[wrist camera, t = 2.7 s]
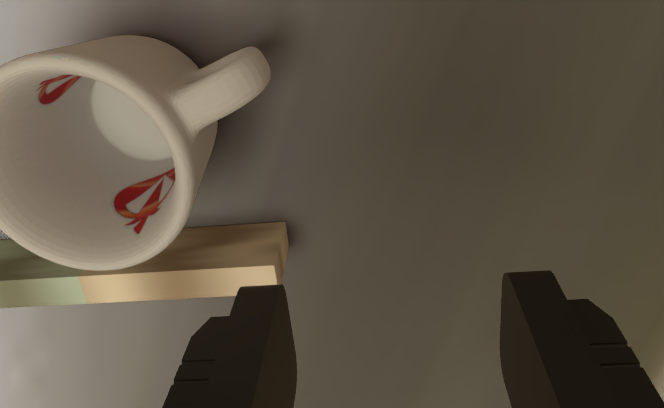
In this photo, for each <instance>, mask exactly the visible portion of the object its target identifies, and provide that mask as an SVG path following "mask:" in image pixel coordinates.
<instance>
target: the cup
mask: <svg viewBox="0 0 664 408" xmlns="http://www.w3.org/2000/svg"><path fill="white" fill-rule="evenodd" d="M270 77H271V71H270V67H269V65H268V63H267V61H266V58H265V57H264V55H263V54H262V52H261V51H260V50H259V49H257V48H256V47H246V48H243V49H240V50H238V51H236V52H234V53H232V54H229V55H227V56H225V57H223V58H221V59H219V60H217V61H215V62H213V63H212V64H210V65H208V66H206V67H203V68H201V69H199V68H198V67H197V65H196V64H195V63H194V62H193V61H192V60H191V59H190V58H189V57H187V56H186V55H185V54H184V53H182V52H181V51H179V50H178V49H176V48H175V47H173V46H171V45H169V44H167V43H165V42H162V41H160V40H157V39H154V38H150V37H145V36H136V35H120V36H112V37H107V38H102V39H97V40H93V41H88V42H84V43H79V44H75V45H70V46H65V47H61V48H56V49H52V50H47V51H42V52H38V53H33V54H29V55H25V56H22V57H19V58H16V59H14V60H11V61H9V62H7V63H5V64H3V65H1V66H0V229H1V230H2V231H3V232H4V233H5V234H6V235H8V236H9V237H10V238H11V239H13V240H14V241H15V242H16V243H18V244H19V245H21V246H22V247H24V248H26V249H28V250H29V251H31V252H33V253H34V254H36V255H38V256H40V257H42V258H45V259H47V260H50V261H52V262H54V263H57V264H60V265H64V266H68V267H72V268H76V269H82V270H93V271H108V270H117V269H123V268H127V267H131V266H134V265H137V264H140V263H142V262H145V261H147V260H149V259H151V258H153V257H154V256H156V255H157V254H159V253H160V252H162V251H163V250H164V249H165V248H166V247H168V246H169V245H170V244H171V243H172V242H173V240H174V239H175V238H176V237H177V236H178V235H179V233H180V232H181V230H182V229H183V227H184V225H185V224H186V222H187V220H188V218H189V215H190V213H191V210H192V207H193V204H194V201H195V199H196V196H197V193H198V190H199V187H200V184H201V181H202V178H203V175H204V172H205V169H206V167H207V164H208V161H209V158H210V155H211V152H212V149H213V146H214V142H215V138H216V134H217V126H218V120H219V119H221V118H223V117H225V116H227V115H229V114H231V113H232V112H234V111H236V110H237V109H239V108H241V107H243V106H244V105H246V104H247V103H248V102H250V101H251V100H253V99H254V98H255V97H256V96H258V95H259V94H260V93H261V92H262V91H263V90H264V89H265V87H266V86H267V85H268V83H269V81H270Z"/></svg>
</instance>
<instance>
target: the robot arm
mask: <svg viewBox="0 0 664 408" xmlns="http://www.w3.org/2000/svg"><path fill="white" fill-rule="evenodd" d="M500 358H501V367H502V373H503V378H504V382H505V386H506V389H507V393H508V396H509V399H510V403H511V406H512V408H664V402H663V400H662V399H661V397H660V395H659V394H658V392H657V390H656V389H655V387H654V385H653V384H652V382H651V380H650V379H649V377H648V376H647V374H646V372H645V371H644V369H643V368H640V364H639V363H640V362H639V361H638V359H637V357H636V356H635V354H634V352H633V351H632V349H631V348H630V347H628V345H627V341H626V339H625V338H624V336H623V334H622V333H621V331H620V329H619V328H618V326H617V324H616V323H615V321H614V319H613V318H612V317H610V316H609V315H608V314H606V313H605V312H604V311H602V310H601V309H600V308H599V307H597V306H596V305H595V304H593V303H592V302H591V301H589V300H588V299H577V300H567V299H566V297H565V295H564V293H563V291H562V289H561V288H560V286H559V284H558V282H557V280H556V278H555V276H554V274H553V273H552V272H551V271H550V270H549V271H530V272H512V273H505V274H504V275H503V280H502V299H501V326H500ZM296 384H297V363H296V352H295V346H294V340H293V334H292V328H291V322H290V316H289V309H288V303H287V297H286V292H285V289H284V286H283V285H282V284H280V285H262V286H243V287H240V288H239V290H238V292H237V295H236V298H235V301H234V304H233V307H232V310H231V313H230V316H222V317H210V319H209V320H208V321H207V322H206V323H205V324H204V325H203V326H202V327H201V328H200V329H199V330H198V331H197V332H196V333H195V334H194V335H193V336H192V337H191V339H190V341H189V344H188V346H187V349H186V351H185V354H184V356H183V358H182V365H180V366H179V368H178V371H177V373H176V376H175V378H174V385H171V388H170V390H169V393H168V395H167V398H166V400H165V403H164V405H163V407H162V408H293V407H294V400H295V393H296Z"/></svg>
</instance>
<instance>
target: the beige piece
mask: <svg viewBox="0 0 664 408" xmlns="http://www.w3.org/2000/svg"><path fill="white" fill-rule="evenodd" d="M288 251H289V242H288V236H287V229H286V223H285V222H273V223H258V224H242V225H226V226H210V227H195V228H183V229H182V230H181V232H180V233H179V235H178V236H177V237H176V238H175V239H174V240H173V242H172V243H171V244H170V245H169V246H168V247H166V248H165V249H164V250H163V251H162V252H160V253H159V254H157V255H156V256H154V257H153V258H151V259H149V260H147V261H145V262H142V263H140V264H137V265H134V266H131V267H127V268H123V269H117V270H108V271H93V270H82V269H76V268H72V267H68V266H64V265H60V264H57V263H54V262H52V261H50V260H47V259H45V258H42V257H40V256H38V255H36V254H34V253H33V252H31V251H29V250H28V249H26V248H24V247H22V246H21V245H19V244H18V243H16V242H15V241H14V240H13V239H6V240H0V308H12V307H31V306H50V305H69V304H88V303H107V302H126V301H146V300H165V299H184V298H203V297H222V296H236V295H237V292H238V290H239V288H240V287H243V286H262V285H280V284H281V282H282V278H283V273H284V269H285V264H286V260H287V255H288Z"/></svg>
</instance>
